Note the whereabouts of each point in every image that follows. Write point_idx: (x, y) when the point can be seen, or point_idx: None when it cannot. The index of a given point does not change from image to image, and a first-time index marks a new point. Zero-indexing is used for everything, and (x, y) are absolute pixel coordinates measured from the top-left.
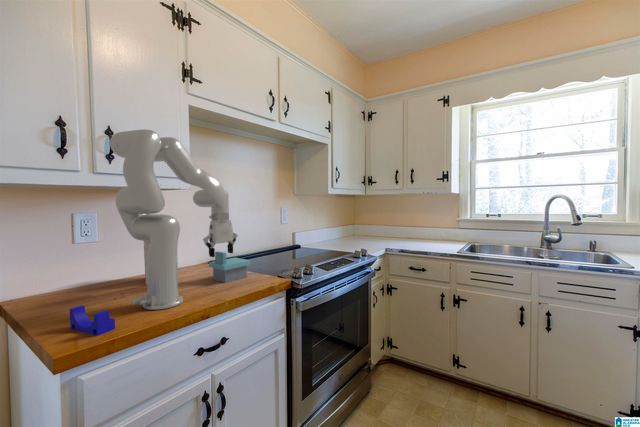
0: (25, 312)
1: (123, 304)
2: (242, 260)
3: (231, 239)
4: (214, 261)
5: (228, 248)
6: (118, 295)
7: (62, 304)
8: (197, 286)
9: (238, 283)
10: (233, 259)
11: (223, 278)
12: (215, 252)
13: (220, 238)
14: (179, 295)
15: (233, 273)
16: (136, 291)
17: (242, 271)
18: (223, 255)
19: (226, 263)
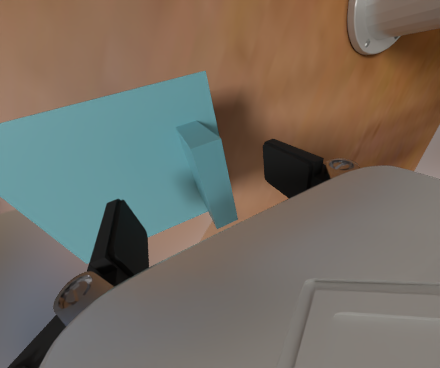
0: (429, 134)
1: (397, 75)
2: (34, 172)
3: (99, 323)
4: (207, 211)
5: (142, 251)
6: (364, 147)
7: (404, 145)
8: (260, 113)
9: (120, 31)
10: None
11: None
12: (236, 214)
13: (399, 229)
14: (356, 3)
15: None
16: (341, 156)
17: None
18: (212, 134)
19: (171, 137)
